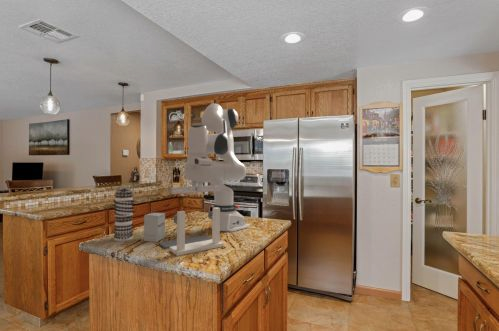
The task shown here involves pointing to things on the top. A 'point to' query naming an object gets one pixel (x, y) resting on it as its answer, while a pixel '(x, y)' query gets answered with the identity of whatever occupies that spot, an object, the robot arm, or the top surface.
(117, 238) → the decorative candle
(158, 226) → the supplement box
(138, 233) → the top surface
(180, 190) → the steel bar
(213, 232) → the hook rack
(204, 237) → the rubber mat
